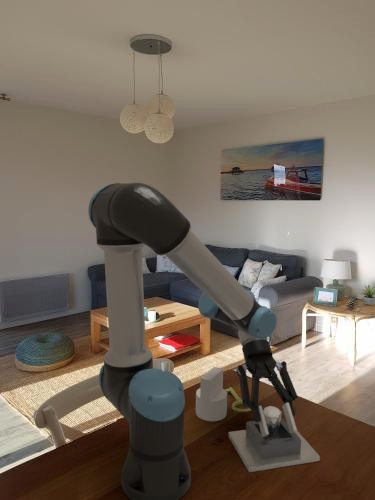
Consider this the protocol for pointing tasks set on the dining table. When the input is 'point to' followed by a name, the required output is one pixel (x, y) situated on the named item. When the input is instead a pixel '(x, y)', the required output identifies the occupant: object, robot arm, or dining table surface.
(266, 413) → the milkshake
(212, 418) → the base with upright slab
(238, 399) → the key
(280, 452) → the holder
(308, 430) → the dining table surface
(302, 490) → the dining table surface
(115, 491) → the dining table surface
